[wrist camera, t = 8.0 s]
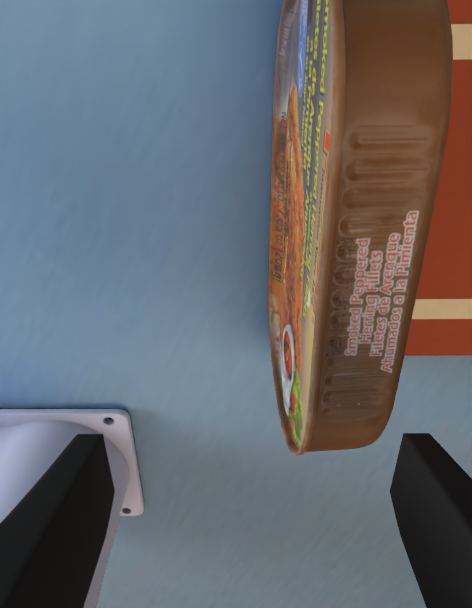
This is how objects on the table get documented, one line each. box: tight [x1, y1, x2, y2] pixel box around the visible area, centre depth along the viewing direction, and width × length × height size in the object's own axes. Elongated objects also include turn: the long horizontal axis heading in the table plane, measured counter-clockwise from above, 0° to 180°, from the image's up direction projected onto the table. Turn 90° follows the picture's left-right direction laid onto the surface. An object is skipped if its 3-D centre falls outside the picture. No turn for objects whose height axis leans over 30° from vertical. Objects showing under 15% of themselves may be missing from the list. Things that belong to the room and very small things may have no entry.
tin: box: [268, 0, 453, 455], centre depth 14 cm, size 15×3×8 cm, turn 1°
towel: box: [404, 0, 472, 355], centre depth 17 cm, size 7×15×1 cm, turn 1°
